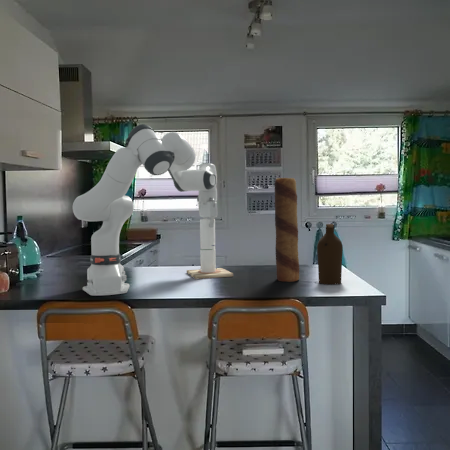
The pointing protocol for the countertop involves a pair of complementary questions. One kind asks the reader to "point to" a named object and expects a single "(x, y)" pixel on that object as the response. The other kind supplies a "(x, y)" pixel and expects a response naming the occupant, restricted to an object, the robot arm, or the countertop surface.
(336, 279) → the olive oil
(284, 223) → the wafer roll
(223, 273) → the seat board
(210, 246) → the cylindrical container
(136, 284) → the countertop surface
